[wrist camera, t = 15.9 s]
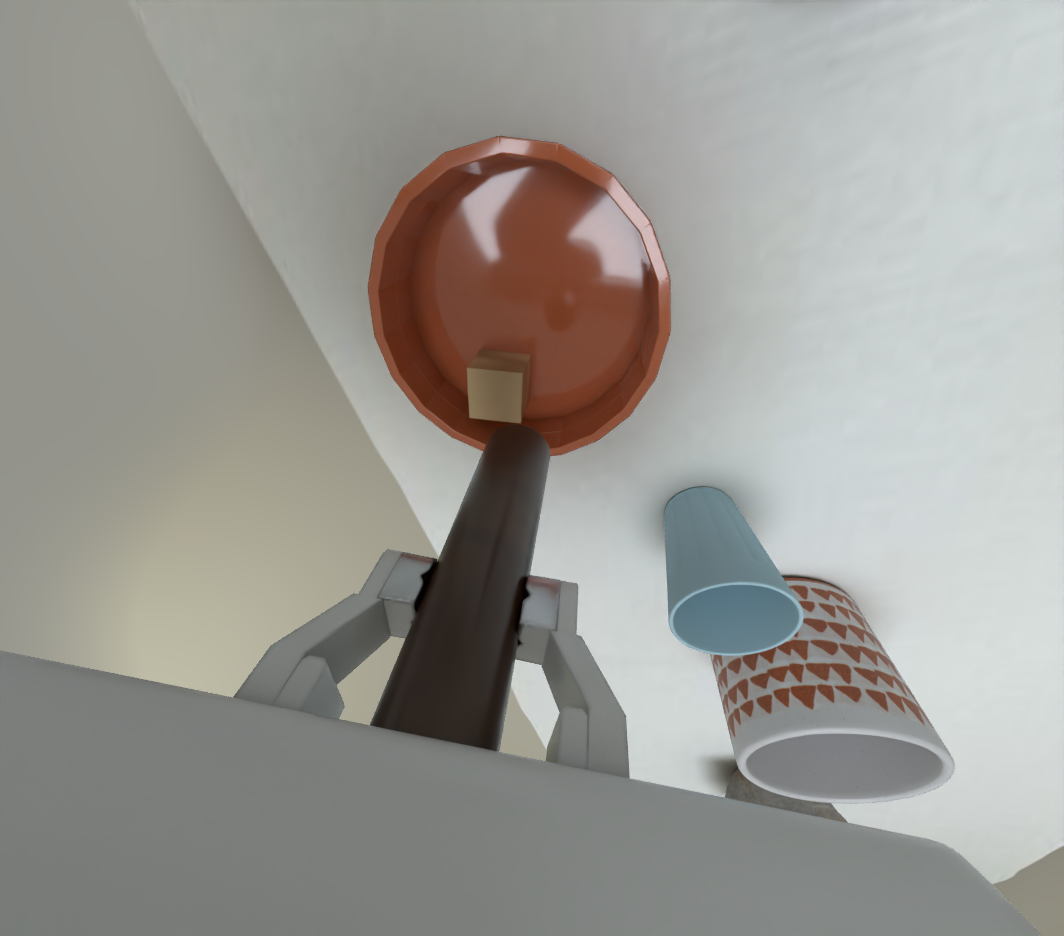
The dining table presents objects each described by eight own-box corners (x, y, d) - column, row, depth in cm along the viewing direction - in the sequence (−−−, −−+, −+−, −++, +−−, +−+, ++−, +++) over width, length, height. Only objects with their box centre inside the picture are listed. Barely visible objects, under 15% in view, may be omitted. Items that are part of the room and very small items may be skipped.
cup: (758, 473, 29) (822, 586, 21) (739, 544, 34) (786, 660, 25) (655, 475, 31) (676, 580, 22) (649, 542, 35) (665, 652, 27)
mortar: (701, 749, 58) (715, 830, 51) (831, 751, 53) (869, 842, 45) (715, 790, 67) (729, 864, 59) (828, 795, 61) (860, 878, 54)
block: (481, 395, 28) (469, 418, 25) (480, 348, 26) (466, 367, 23) (528, 401, 28) (521, 424, 25) (531, 353, 26) (523, 373, 23)
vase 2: (831, 555, 33) (937, 718, 23) (871, 638, 38) (972, 800, 28) (679, 600, 39) (708, 744, 29) (732, 666, 44) (773, 807, 34)
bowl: (415, 404, 30) (387, 436, 26) (393, 131, 20) (343, 116, 16) (621, 437, 29) (625, 476, 25) (697, 169, 20) (724, 163, 16)
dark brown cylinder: (486, 470, 18) (330, 881, 7) (488, 418, 16) (287, 861, 6) (546, 480, 17) (471, 913, 7) (554, 429, 16) (472, 902, 6)
